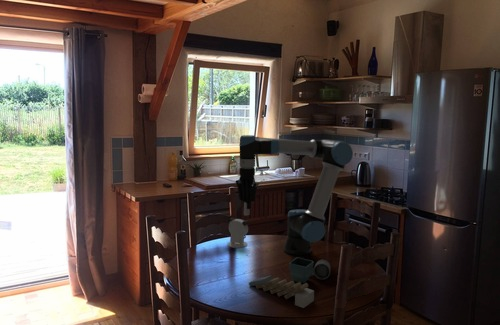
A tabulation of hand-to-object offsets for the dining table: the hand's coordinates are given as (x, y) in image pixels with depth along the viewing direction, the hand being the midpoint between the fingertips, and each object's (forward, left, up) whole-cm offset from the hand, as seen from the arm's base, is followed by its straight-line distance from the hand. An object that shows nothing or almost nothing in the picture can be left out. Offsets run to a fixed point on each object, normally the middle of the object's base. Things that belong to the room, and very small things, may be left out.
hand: (246, 214), depth 200 cm
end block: (-9, +44, -26) cm, 52 cm away
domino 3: (0, +27, -26) cm, 37 cm away
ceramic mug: (-29, +22, -27) cm, 45 cm away
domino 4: (-1, +31, -26) cm, 40 cm away
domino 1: (+4, +20, -26) cm, 33 cm away
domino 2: (+2, +24, -26) cm, 35 cm away
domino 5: (-3, +34, -26) cm, 43 cm away
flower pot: (-18, +24, -27) cm, 40 cm away
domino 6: (-5, +37, -26) cm, 45 cm away
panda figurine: (-7, -32, -27) cm, 42 cm away
